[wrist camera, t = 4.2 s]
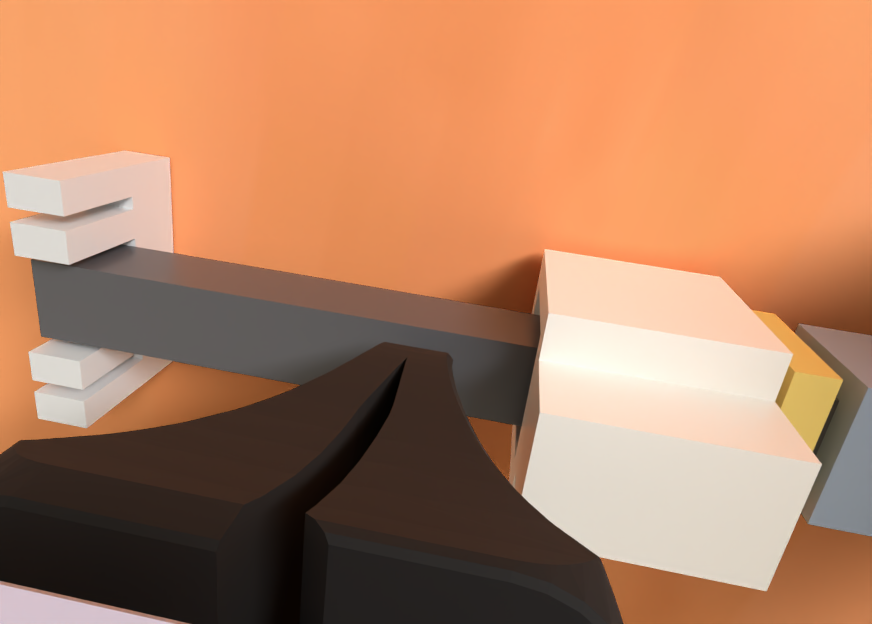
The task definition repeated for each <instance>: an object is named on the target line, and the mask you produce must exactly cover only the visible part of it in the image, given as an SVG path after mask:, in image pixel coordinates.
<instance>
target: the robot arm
mask: <svg viewBox="0 0 872 624" xmlns="http://www.w3.org/2000/svg"><path fill="white" fill-rule="evenodd" d="M452 364H453V359H452V357H451V356H450V355H449V353H446V352H440V351H435V350H429V349H423V348H417V347H412V346H406V345H400V344H395V343H389V342H383V343H380V344H378V345H377V346H375V347H373V348H371V349H369V350H368V351H366V352H364V353H362V354H361V355H359V356H357V357H355V358H354V359H352V360H350V361H348V362H346V363H344V364H343V365H341V366H339V367H337V368H335V369H334V370H332V371H330V372H328V373H326V374H324V375H322V376H319V377H317V378H315V379H313V380H311V381H309V382H307V383H305V384H302V385H300V386H298V387H296V388H294V389H292V390H289V391H287V392H285V393H282V394H280V395H277V396H274V397H272V398H269V399H266V400H263V401H260V402H257V403H254V404H251V405H249V406H246V407H242V408H239V409H236V410H232V411H228V412H224V413H220V414H216V415H212V416H208V417H204V418H200V419H196V420H192V421H188V422H183V423H178V424H172V425H167V426H161V427H156V428H150V429H143V430H136V431H129V432H122V433H113V434H104V435H93V436H79V437H66V438H53V439H40V440H20V441H19V442H17V443H16V444H14V445H13V446H12V447H10V448H9V449H7V450H6V451H4V452H3V453H2V454H0V624H623V621H622V618H621V615H620V612H619V608H618V605H617V602H616V599H615V596H614V594H613V591H612V588H611V585H610V583H609V580H608V577H607V574H606V572H605V569H604V567H603V564H602V562H601V560H600V558H599V557H598V556H597V555H596V554H594V553H593V552H592V551H590V550H589V549H587V548H586V547H585V546H583V545H582V544H580V543H579V542H578V541H576V540H575V539H573V538H572V537H571V536H569V535H568V534H567V533H565V532H564V531H562V530H561V529H560V528H558V527H557V526H555V525H554V524H553V523H552V522H550V521H549V520H548V519H547V518H546V517H545V516H543V515H542V514H541V513H540V512H539V511H538V510H537V509H536V508H534V507H533V506H532V505H531V504H530V503H529V502H528V501H527V500H526V499H525V498H524V497H523V496H522V495H521V494H520V493H519V492H518V491H517V490H516V489H515V488H514V487H513V486H512V485H511V484H510V482H509V481H508V480H507V479H506V478H505V477H504V476H503V475H502V473H501V472H500V471H499V470H498V468H497V467H496V466H495V464H494V463H493V462H492V460H491V459H490V457H489V456H488V454H487V453H486V451H485V450H484V448H483V446H482V445H481V443H480V441H479V440H478V438H477V436H476V434H475V432H474V430H473V428H472V426H471V424H470V422H469V420H468V418H467V416H466V413H465V411H464V409H463V406H462V403H461V400H460V398H459V395H458V392H457V389H456V385H455V381H454V377H453V371H452Z"/></svg>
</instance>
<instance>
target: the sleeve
mask: <svg viewBox="0 0 872 624" xmlns="http://www.w3.org/2000/svg"><path fill="white" fill-rule="evenodd" d="M532 314H535V315H540V333H541V334H540V339H539V344H538V349H537V354H536V359H535V363H534V368H533V373H532V378H531V383H530V388H529V392H528V397H527V402H526V407H525V412H524V417H523V422H522V426H517V425H513V426H512V442H511V459H510V475H509V482H510V484H511V485H512V486H513V487H514V488H515V489H516V490H517V491H518V492H519V493H520V494H521V495H522V496H523V497H524V498H525V499H526V500H527V501H528V502H529V503H530V504H531V505H532V506H533V507H534V508H536V509H537V510H538V511H539V512H540V513H541V514H542V515H543V516H545V517H546V518H547V519H548V520H549V521H550V522H552V523H553V524H554V525H555V526H557V527H558V528H560V529H561V530H562V531H564V532H565V533H567V534H568V535H569V536H571V537H572V538H573V539H575V540H576V541H578V542H579V543H580V544H582V545H583V546H585V547H586V548H587V549H589V550H590V551H592V552H593V553H594V554H596V555H597V556H598V557H601V558H606V559H611V560H616V561H621V562H626V563H631V564H636V565H640V566H645V567H650V568H655V569H660V570H665V571H670V572H675V573H680V574H684V575H689V576H694V577H699V578H704V579H709V580H714V581H719V582H723V583H728V584H733V585H738V586H743V587H748V588H753V589H758V590H762V591H767V589H768V587H769V585H770V582H771V580H772V578H773V576H774V573H775V571H776V569H777V566H778V564H779V562H780V559H781V557H782V555H783V553H784V550H785V548H786V546H787V543H788V541H789V539H790V537H791V534H792V532H793V530H794V527H795V525H796V523H797V521H798V518H799V516H800V514H801V511H802V509H803V507H804V504H805V502H806V500H807V498H808V495H809V493H810V491H811V488H812V486H813V484H814V482H815V479H816V477H817V475H818V472H819V470H820V468H821V466H822V464H821V462H820V461H819V460H818V458H817V457H816V456H815V454H814V453H813V452H812V450H811V449H810V448H809V446H808V445H807V444H806V442H805V441H804V440H803V438H802V437H801V436H800V434H799V433H798V432H797V430H796V429H795V428H794V426H793V425H792V424H791V422H790V421H789V420H788V418H787V417H786V416H785V414H784V413H783V412H782V410H781V409H780V408H779V406H778V405H777V404H776V402H775V401H776V398H777V395H778V393H779V390H780V388H781V385H782V382H783V380H784V377H785V375H786V372H787V369H788V367H789V364H790V362H791V359H792V356H793V353H792V352H791V351H790V350H789V349H788V348H787V347H786V346H785V345H784V344H783V343H782V342H781V341H780V340H779V339H778V338H777V336H776V335H775V334H774V333H773V332H772V331H771V330H770V329H769V328H768V327H767V326H766V325H765V324H764V323H763V322H762V321H761V320H760V319H759V317H758V316H757V315H756V314H755V313H754V312H753V311H752V310H751V309H750V308H749V307H748V306H747V305H746V304H745V303H744V302H743V301H742V300H741V298H740V297H739V296H738V295H737V294H736V293H735V292H734V291H733V290H732V289H731V288H730V287H729V286H728V285H727V284H726V283H725V282H724V281H723V279H722V278H721V277H718V276H711V275H705V274H699V273H692V272H686V271H680V270H674V269H667V268H661V267H655V266H649V265H642V264H636V263H630V262H623V261H617V260H611V259H605V258H598V257H592V256H586V255H579V254H573V253H567V252H561V251H554V250H548V249H544V254H543V259H542V264H541V269H540V274H539V279H538V284H537V289H536V294H535V299H534V304H533V310H532Z"/></svg>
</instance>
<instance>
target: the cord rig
mask: <svg viewBox="0 0 872 624" xmlns="http://www.w3.org/2000/svg"><path fill="white" fill-rule="evenodd" d="M3 177H4V184H5V191H6V198H7V205H8V207H9V208H15V209H21V210H27V211H33V212H39V213H41V214H38V215H34V216H30V217H27V218H23V219H19V220H15V221H12V222H10V226H11V233H12V240H13V247H14V254H15V256H21V257H27V258H32V259H31V263H32V271H33V278H34V286H35V293H36V301H37V308H38V316H39V324H40V331H41V336H42V337H47V338H53V339H51V340H50V341H48V342H46V343H44V344H42V345H40V346H38V347H37V348H35V349H33V350H31V351H29V359H30V366H31V373H32V380H35V381H40V382H45V383H48V384H46V385H44V386H43V387H41V388H40V389H38V390H36V391H35V392H34V394H35V401H36V408H37V415H38V419H43V420H48V421H53V422H58V423H63V424H68V425H73V426H78V427H83V428H88V427H89V426H90V425H92V424H93V423H94V422H96V421H97V420H98V419H99V418H101V417H102V416H103V415H105V414H106V413H107V412H108V411H110V410H111V409H112V408H113V407H115V406H116V405H117V404H119V403H120V402H121V401H122V400H124V399H125V398H126V397H128V396H129V395H130V394H131V393H133V392H134V391H135V390H137V389H138V388H139V387H140V386H142V385H143V384H144V383H146V382H147V381H148V380H149V379H151V378H152V377H153V376H154V375H156V374H157V373H158V372H160V371H161V370H162V369H163V368H165V367H166V366H167V365H169V364H170V363H171V362H172V361H176V362H181V363H186V364H192V365H197V366H202V367H208V368H213V369H218V370H224V371H229V372H234V373H240V374H245V375H250V376H256V377H261V378H266V379H272V380H277V381H282V382H288V383H293V384H298V385H302V384H305V383H307V382H309V381H311V380H313V379H315V378H317V377H319V376H322V375H324V374H326V373H328V372H330V371H332V370H334V369H335V368H337V367H339V366H341V365H343V364H344V363H346V362H348V361H350V360H352V359H354V358H355V357H357V356H359V355H361V354H362V353H364V352H366V351H368V350H369V349H371V348H373V347H375V346H377V345H378V344H380V343H383V342H389V343H395V344H400V345H406V346H412V347H417V348H423V349H429V350H435V351H440V352H446V353H449V355H450V356H451V357H452V359H453V364H452V371H453V377H454V381H455V385H456V389H457V392H458V395H459V398H460V400H461V403H462V406H463V409H464V411H465V413H466V416H469V417H475V418H480V419H485V420H491V421H496V422H501V423H507V424H512V425H517V426H522V422H523V417H524V412H525V407H526V402H527V397H528V392H529V388H530V383H531V378H532V373H533V368H534V363H535V359H536V354H537V349H538V344H539V339H540V334H541V333H540V315H535V314H529V313H523V312H517V311H512V310H506V309H500V308H494V307H488V306H482V305H476V304H470V303H464V302H459V301H453V300H447V299H441V298H435V297H429V296H423V295H417V294H411V293H405V292H400V291H394V290H388V289H382V288H376V287H370V286H364V285H358V284H352V283H347V282H341V281H335V280H329V279H323V278H317V277H311V276H305V275H299V274H293V273H288V272H282V271H276V270H270V269H264V268H258V267H252V266H246V265H240V264H235V263H229V262H223V261H217V260H211V259H205V258H199V257H193V256H187V255H181V254H176V253H174V251H173V226H172V201H171V177H170V157H164V156H157V155H151V154H144V153H138V152H131V151H119V152H114V153H108V154H102V155H96V156H90V157H85V158H79V159H73V160H67V161H62V162H56V163H50V164H44V165H38V166H33V167H27V168H21V169H15V170H10V171H4V172H3ZM752 311H753V312H754V313H755V314H756V315H757V316H758V317H759V319H760V320H761V321H762V322H763V323H764V324H765V325H766V326H767V327H768V328H769V329H770V330H771V331H772V332H773V333H774V334H775V335H776V336H777V338H778V339H779V340H780V341H781V342H782V343H783V344H784V345H785V346H786V347H787V348H788V349H789V350H790V351H791V352H792V353H793V356H792V359H791V362H790V364H789V367H788V369H787V372H786V375H785V377H784V380H783V382H782V385H781V388H780V390H779V393H778V395H777V398H776V401H775V402H776V404H777V405H778V406H779V408H780V409H781V410H782V412H783V413H784V414H785V416H786V417H787V418H788V420H789V421H790V422H791V424H792V425H793V426H794V428H795V429H796V430H797V432H798V433H799V434H800V436H801V437H802V438H803V440H804V441H805V442H806V444H807V445H808V446H809V448H810V449H811V450H812V452H813V453H814V454H815V456H816V457H817V458H818V460H819V461H820V462H821V464H822V466H821V468H820V470H819V472H818V475H817V477H816V479H815V482H814V484H813V486H812V488H811V491H810V493H809V495H808V498H807V500H806V502H805V504H804V507H803V509H802V511H801V514H802V516H803V517H804V519H805V521H806V522H807V524H810V525H815V526H820V527H825V528H830V529H836V530H841V531H846V532H851V533H856V534H861V535H867V536H872V335H866V334H860V333H854V332H848V331H842V330H835V329H829V328H823V327H817V326H811V325H805V324H798V326H797V329H796V331H795V333H794V332H793V331H792V330H791V329H790V328H789V327H788V326H787V325H786V324H785V323H784V322H783V321H782V320H781V319H780V318H779V317H778V316H777V315H776V314H773V313H767V312H761V311H755V310H752Z"/></svg>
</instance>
